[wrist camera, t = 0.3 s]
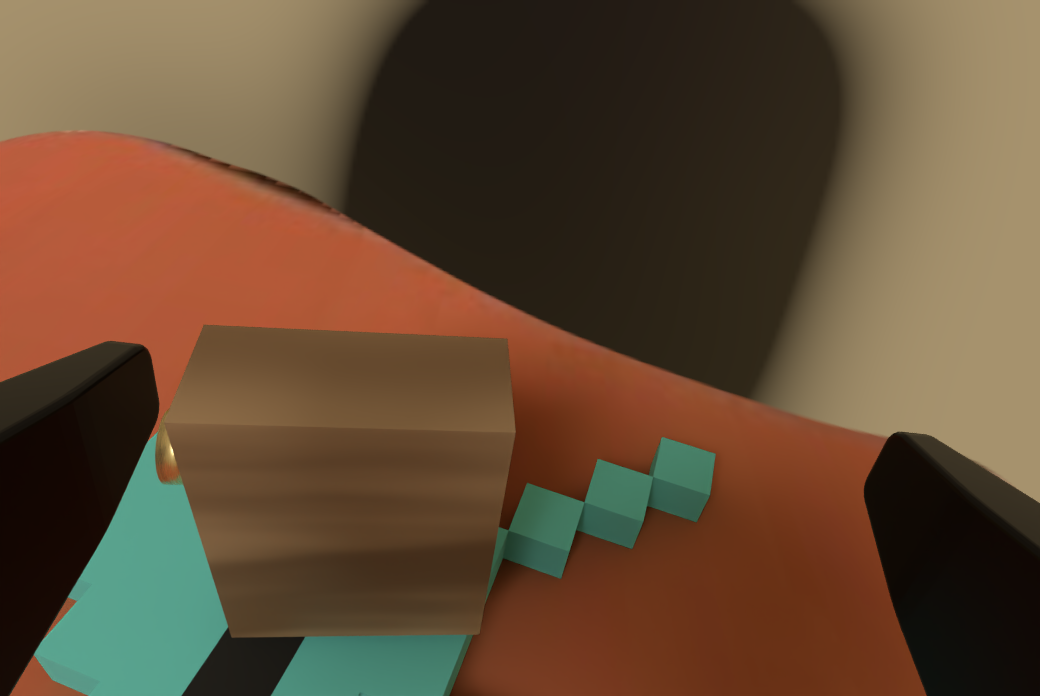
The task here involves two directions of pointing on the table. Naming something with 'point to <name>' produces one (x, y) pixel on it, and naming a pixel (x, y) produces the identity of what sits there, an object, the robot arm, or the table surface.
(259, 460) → the marking gauge
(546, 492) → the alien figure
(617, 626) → the table surface
